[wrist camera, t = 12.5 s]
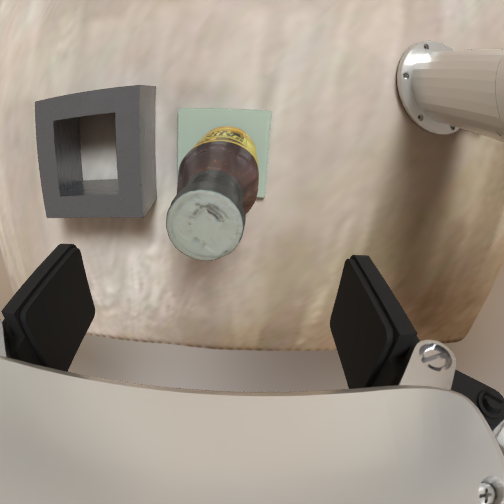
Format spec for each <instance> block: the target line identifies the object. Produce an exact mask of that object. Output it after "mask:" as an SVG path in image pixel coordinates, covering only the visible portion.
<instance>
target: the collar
mask: <svg viewBox="0 0 504 504" xmlns="http://www.w3.org/2000/svg"><path fill="white" fill-rule="evenodd" d="M155 97H156V86H145V85H135V86H125V87H116V88H108V89H100V90H93V91H87V92H81V93H75V94H69V95H64V96H59V97H54V98H49V99H45V100H40V101H36V102H35V121H36V139H37V151H38V161H39V170H40V178H41V186H42V192H43V199H44V205H45V210H46V216H47V218H78V217H144V216H145V215H146V214H147V212H148V211H149V209H150V208H151V206H152V205H153V203H154V202H155V201H156V199H157V189H156V160H155ZM105 113H115V125H116V154H117V171H118V179H112V180H89V181H83V177H82V166H81V153H80V137H79V117H81V116H88V115H96V114H105Z"/></svg>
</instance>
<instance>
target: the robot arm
mask: <svg viewBox="0 0 504 504" xmlns="http://www.w3.org/2000/svg"><path fill="white" fill-rule="evenodd" d="M403 75H404V77H403ZM397 86H398V91H399V96H400V98H401V101H402V104H403V106H404V108H405V110H406V112H407V113H408V114H409V116H410V117H411V118H412V120H413V121H414V122H415V123H416V124H417V125H419V126H420V127H422V128H423V129H425V130H427V131H429V132H432V133H436V134H444V135H446V134H451V133H454V132H456V131H458V130H459V129H460V128H461V129H465V130H468V131H471V132H475V133H478V134H481V135H484V136H487V137H490V138H493V139H496V140H499V141H502V142H504V49H467V50H453V49H452V48H450V47H449V46H447V45H445V44H443V43H440V42H437V41H423V42H419V43H416V44H414V45H412V46H411V47H409V48H408V50H407V51H406V52H405V53H404V54H403V56H402V58H401V60H400V63H399V66H398V72H397ZM2 314H3V316H4V318H5V319H4V320H3V322H2V321H1V320H0V504H504V398H503V396H502V395H501V394H500V393H499V392H497V391H496V390H494V389H493V388H491V387H489V386H487V385H485V384H483V383H481V382H479V381H477V380H475V379H473V378H471V377H469V376H467V375H465V374H463V373H461V372H459V371H457V370H455V369H456V358H455V356H454V354H453V352H452V351H451V350H450V349H449V348H448V347H447V346H446V345H444V344H442V343H441V342H438V341H435V340H423V341H421V342H420V341H419V339H418V337H417V332H416V330H415V329H414V327H413V325H412V324H411V322H410V320H409V319H408V317H407V315H406V314H405V312H404V310H403V309H402V307H401V305H400V304H399V302H398V300H397V299H396V297H395V296H394V294H393V292H392V291H391V289H390V288H389V286H388V285H387V283H386V281H385V280H384V278H383V277H382V275H381V274H380V272H379V271H378V269H377V268H376V266H375V265H374V263H373V262H372V260H371V259H370V257H369V256H365V255H352V256H351V258H350V259H347V260H346V261H345V264H344V268H343V273H342V277H341V281H340V285H339V289H338V293H337V296H336V300H335V304H334V308H333V311H332V315H331V319H330V328H331V332H332V335H333V338H334V341H335V344H336V347H337V351H338V354H339V357H340V360H341V363H342V367H343V370H344V373H345V376H346V380H347V383H348V387H349V389H342V390H325V391H303V392H230V391H209V390H193V389H181V388H169V387H160V386H151V385H143V384H135V383H128V382H121V381H115V380H108V379H102V378H97V377H91V376H86V375H81V374H76V373H71V372H67V371H68V369H69V367H70V365H71V362H72V360H73V358H74V356H75V354H76V352H77V350H78V348H79V346H80V344H81V342H82V340H83V338H84V336H85V334H86V332H87V330H88V328H89V326H90V324H91V322H92V320H93V318H94V316H95V307H94V303H93V300H92V296H91V293H90V289H89V285H88V281H87V277H86V273H85V269H84V265H83V260H82V256H81V252H80V250H79V249H78V248H77V247H76V246H75V245H74V244H60V245H58V246H57V247H56V248H55V249H54V251H53V252H52V253H51V254H50V255H49V256H48V257H47V258H46V259H45V260H44V261H43V262H42V263H41V265H40V266H39V267H38V268H37V269H36V270H35V271H34V272H33V274H32V275H31V276H30V277H29V278H28V279H27V280H26V282H25V283H24V284H23V285H22V286H21V288H20V289H19V290H18V291H17V292H16V294H15V295H14V296H13V297H12V299H11V300H10V301H9V302H8V304H7V305H6V306H5V308H4V309H3V310H2Z"/></svg>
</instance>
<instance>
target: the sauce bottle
mask: <svg viewBox="0 0 504 504" xmlns="http://www.w3.org/2000/svg"><path fill="white" fill-rule="evenodd" d="M258 185H259V168H258V160H257V153H256V148H255V144H254V142H253V140H252V139H251V138H250V136H249V135H248V134H247V133H245V132H244V131H243V130H241V129H239V128H236V127H231V126H223V127H218V128H215V129H213V130H211V131H209V132H208V133H207V134H206V135H205V136H204V137H203V138H202V139H201V140H200V141H199V142H198V143H197V144H196V145H195V146H194V147H193V148H192V149H191V150H190V151H189V152H188V153H187V154H186V155H185V157H184V158H183V160H182V162H181V164H180V167H179V172H178V187H177V195H176V197H175V198H174V200H173V201H172V203H171V206H170V208H169V210H168V212H167V218H166V229H167V232H168V236H169V238H170V240H171V241H172V243H173V245H174V246H175V247H176V248H177V249H178V250H179V251H181V252H182V253H183V254H185V255H187V256H190V257H191V258H193V259H198V260H216V259H219V258H221V257H223V256H225V255H227V254H229V253H231V252H232V251H233V250H234V249H235V248H236V247H237V245H238V244H239V242H240V240H241V237H242V235H243V230H244V225H245V215H246V213H247V212H249V210H250V209H251V207H252V206H253V204H254V202H255V200H256V198H257V194H258Z"/></svg>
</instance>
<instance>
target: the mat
mask: <svg viewBox="0 0 504 504" xmlns="http://www.w3.org/2000/svg"><path fill="white" fill-rule="evenodd" d="M270 125H271V111H263V110H246V109H216V108H184V109H178V172H179V167H180V164H181V162H182V160H183V158H184V157H185V155H186V154H187V153H188V152H189V151H190V150H191V149H192V148H193V147H194V146H195V145H196V144H197V143H198V142H199V141H200V140H201V139H202V138H203V137H204V136H205V135H206V134H207V133H208V132H209V131H211V130H213V129H215V128H218V127H223V126H231V127H236V128H239V129H241V130H243V131H244V132H245V133H247V134H248V135H249V136H250V138H251V139H252V140H253V142H254V144H255V148H256V153H257V160H258V168H259V185H258V194H257V197H263V198H265V190H266V177H267V164H268V151H269V138H270Z"/></svg>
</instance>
